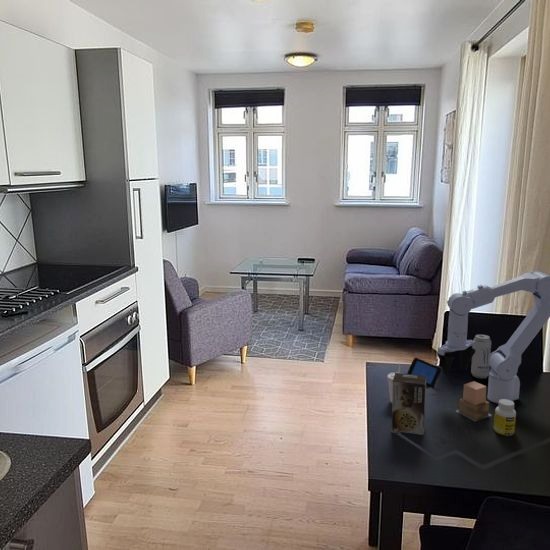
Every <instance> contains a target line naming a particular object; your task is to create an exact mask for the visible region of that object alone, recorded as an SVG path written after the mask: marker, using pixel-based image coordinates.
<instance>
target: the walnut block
mask: <svg viewBox="0 0 550 550" xmlns="http://www.w3.org/2000/svg"><path fill="white" fill-rule="evenodd" d="M458 400H459V401H458V402H459V403H458V410H459V412H461V413H463V414H465V415H467V416H469V417H471V418H472V419H474V420H475V419H478V418H480V417H483V416H486V415H488V413H489V412H490V402H489V401H487V400H485V402H484V403H481V404H478V405H473V404H471V403H469V402H467V401H465V400H463V397H462V398H460V399H458ZM489 414H490V413H489Z"/></svg>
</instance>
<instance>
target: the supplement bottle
mask: <svg viewBox="0 0 550 550" xmlns="http://www.w3.org/2000/svg"><path fill="white" fill-rule="evenodd" d="M497 404H498V406H496V407H495V409H494V419H493V432H494V433H496V434H497V435H500V436H504V437H511V436H513V435H514V434H515V428H516V418H517V412H516V410H515V402H514V401H511V400H507V399H501V400H499V403H497Z"/></svg>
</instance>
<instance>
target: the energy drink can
mask: <svg viewBox="0 0 550 550" xmlns="http://www.w3.org/2000/svg"><path fill="white" fill-rule="evenodd" d="M472 341H475V347H473V349H475V350H476V351H475V354H474V355H473V356H472V358H471V365H470V366H471V369H470V372H471V374H472V377H474V378H476V379H487V378H488V377H489V372H490V368H491V367H490V366H489V364H488V357H489V355H490V354H491V353H492V352H491V351H492V350H491V349H492V340H491V338H490V336H489V335H487V334H480V333H479V334H476V335H475V336H474V338H473V340H472Z"/></svg>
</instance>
